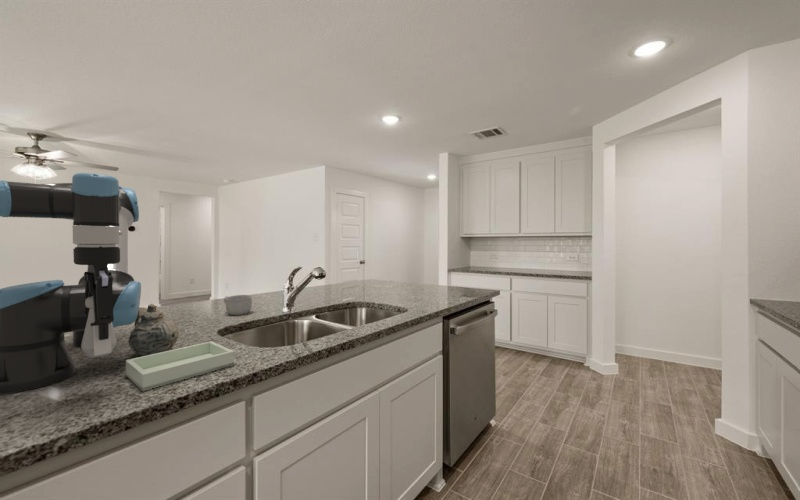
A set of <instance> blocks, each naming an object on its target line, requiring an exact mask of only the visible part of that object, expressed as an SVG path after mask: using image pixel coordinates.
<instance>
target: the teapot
mask: <svg viewBox="0 0 800 500" xmlns="http://www.w3.org/2000/svg"><path fill="white" fill-rule="evenodd" d="M157 308H158V306H157V305H155V304H153V303H150V304H148V305H147V308H145V307H142V306H141V307H139V311H138V316H137V319H136V320H135V322H134V328H133V329H132V331H131V332H130V335H129V337H128V338H129V339H128V345H129V348H130V349H131V350H132V351H134V352H135V353H136V354H137V355H138V356H140V357H142V356H147V355H151V354H156V353H160V352H165V351H169V350H173V347H174V346H175V344H176V343H177V341H178V339H179V328H178V326H176V323H174V322H173V321H171V320H166V319H165V318H164V317H165V314H164V312H163V311H162V310H158V309H157Z"/></svg>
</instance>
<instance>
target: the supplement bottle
mask: <svg viewBox="0 0 800 500" xmlns="http://www.w3.org/2000/svg"><path fill="white" fill-rule="evenodd" d="M84 331H85V330H82V331H74V332H72V345H73V347H81V344H82V340H83V336H84Z"/></svg>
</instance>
